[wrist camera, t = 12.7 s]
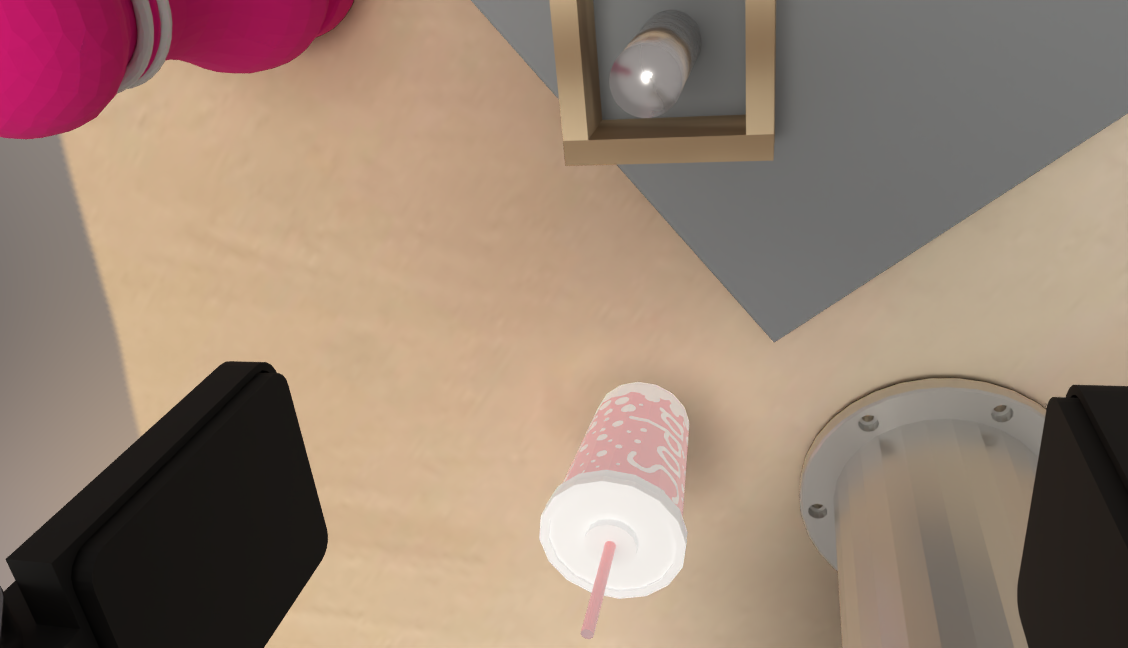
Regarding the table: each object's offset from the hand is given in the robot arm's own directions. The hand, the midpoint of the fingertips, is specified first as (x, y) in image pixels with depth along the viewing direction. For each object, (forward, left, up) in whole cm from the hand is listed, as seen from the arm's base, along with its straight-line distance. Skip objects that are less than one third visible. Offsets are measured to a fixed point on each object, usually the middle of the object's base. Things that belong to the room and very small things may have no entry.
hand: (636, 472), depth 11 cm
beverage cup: (-11, +15, -28) cm, 34 cm away
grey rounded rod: (+2, +2, -28) cm, 28 cm away
